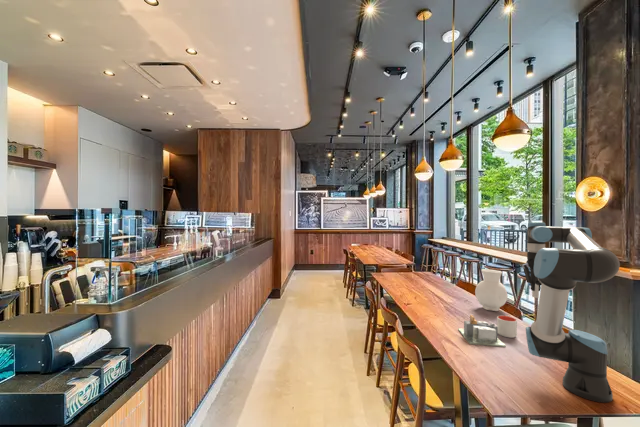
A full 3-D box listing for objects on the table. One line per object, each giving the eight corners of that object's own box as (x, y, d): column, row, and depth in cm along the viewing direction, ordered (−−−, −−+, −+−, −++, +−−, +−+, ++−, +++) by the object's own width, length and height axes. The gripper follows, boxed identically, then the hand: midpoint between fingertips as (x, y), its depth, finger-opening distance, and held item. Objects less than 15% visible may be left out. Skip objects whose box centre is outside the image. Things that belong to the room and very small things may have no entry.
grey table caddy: (505, 347, 158) (505, 331, 158) (469, 344, 161) (469, 328, 161) (490, 332, 178) (490, 318, 178) (458, 329, 181) (458, 316, 181)
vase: (512, 311, 217) (513, 272, 217) (492, 315, 209) (493, 273, 209) (489, 304, 235) (490, 267, 235) (470, 307, 227) (471, 268, 227)
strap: (495, 328, 167) (495, 327, 167) (474, 325, 169) (474, 323, 169) (493, 327, 169) (493, 325, 169) (472, 323, 171) (473, 321, 171)
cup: (519, 339, 168) (520, 322, 168) (500, 337, 170) (501, 320, 170) (512, 332, 178) (512, 316, 178) (494, 330, 180) (494, 314, 180)
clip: (477, 324, 168) (477, 317, 168) (472, 324, 168) (472, 317, 168) (474, 321, 172) (474, 315, 172) (470, 321, 172) (470, 314, 172)
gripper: (545, 251, 153) (544, 296, 153) (518, 250, 155) (517, 294, 154) (554, 253, 146) (553, 300, 145) (526, 252, 147) (526, 298, 147)
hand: (535, 297), depth 150 cm, fingers closed
